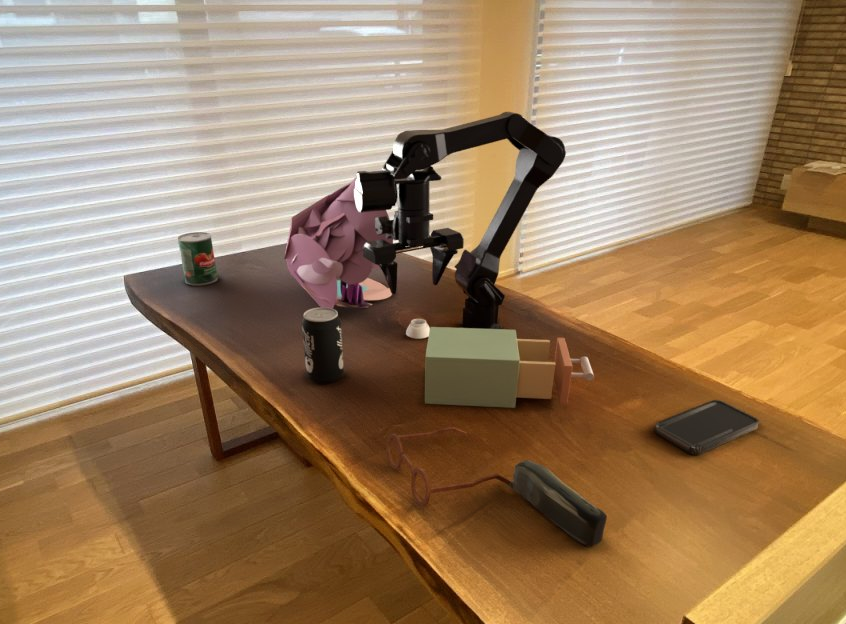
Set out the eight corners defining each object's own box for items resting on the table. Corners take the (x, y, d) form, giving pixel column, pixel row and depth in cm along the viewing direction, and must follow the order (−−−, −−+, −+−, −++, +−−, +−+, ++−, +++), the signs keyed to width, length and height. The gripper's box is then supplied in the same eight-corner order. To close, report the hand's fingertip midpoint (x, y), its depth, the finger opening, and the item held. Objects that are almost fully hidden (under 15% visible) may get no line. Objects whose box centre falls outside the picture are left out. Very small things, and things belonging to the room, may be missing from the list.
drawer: (583, 373, 107) (588, 338, 104) (592, 404, 98) (599, 367, 95) (481, 369, 109) (484, 334, 105) (482, 399, 100) (484, 362, 96)
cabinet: (511, 373, 109) (515, 329, 105) (515, 407, 99) (519, 360, 95) (429, 370, 111) (430, 326, 106) (424, 403, 101) (425, 356, 96)
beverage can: (337, 387, 106) (333, 322, 100) (301, 383, 107) (295, 319, 101) (348, 369, 111) (344, 307, 105) (313, 366, 112) (308, 305, 107)
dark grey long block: (612, 511, 70) (518, 447, 81) (595, 521, 69) (502, 454, 79) (604, 542, 73) (515, 476, 83) (587, 553, 71) (498, 484, 82)
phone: (651, 424, 92) (717, 398, 99) (650, 430, 93) (715, 404, 99) (697, 450, 86) (763, 421, 93) (695, 457, 87) (761, 427, 93)
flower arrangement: (420, 325, 140) (450, 201, 127) (333, 334, 125) (357, 194, 113) (338, 271, 163) (357, 160, 150) (256, 272, 148) (270, 150, 135)
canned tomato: (213, 285, 150) (205, 241, 145) (180, 285, 150) (172, 241, 145) (221, 274, 157) (214, 231, 152) (191, 274, 157) (183, 232, 152)
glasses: (384, 458, 88) (382, 429, 85) (465, 434, 92) (466, 406, 89) (424, 515, 77) (423, 484, 74) (513, 485, 81) (515, 455, 79)
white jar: (430, 329, 126) (406, 329, 126) (430, 316, 124) (406, 316, 125) (431, 340, 122) (405, 340, 122) (431, 326, 120) (405, 326, 120)
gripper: (434, 192, 120) (434, 268, 128) (347, 205, 113) (352, 285, 121) (466, 203, 112) (464, 285, 120) (374, 218, 104) (378, 304, 112)
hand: (414, 289), depth 118 cm, fingers open, 9 cm apart
